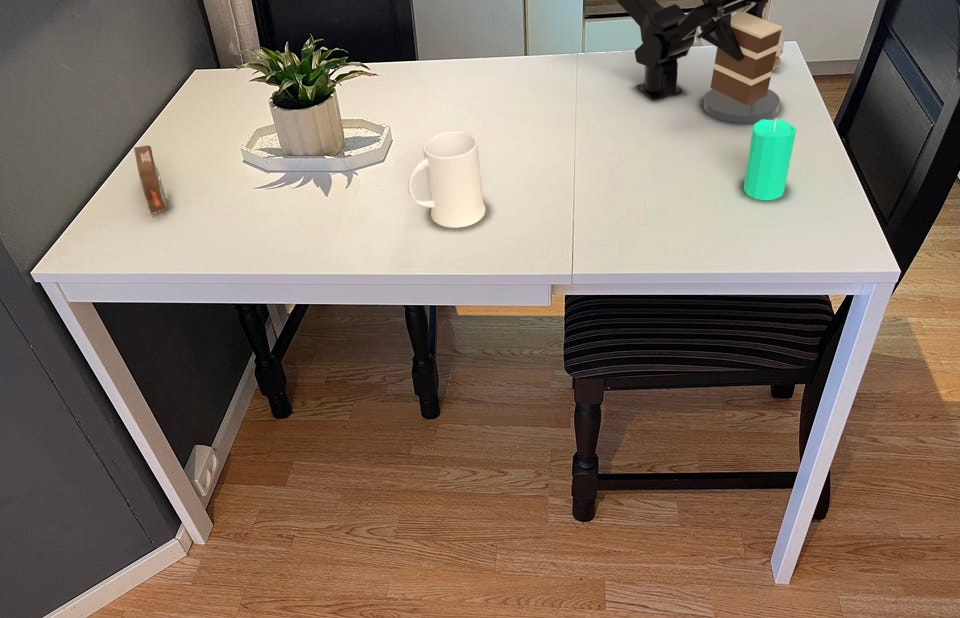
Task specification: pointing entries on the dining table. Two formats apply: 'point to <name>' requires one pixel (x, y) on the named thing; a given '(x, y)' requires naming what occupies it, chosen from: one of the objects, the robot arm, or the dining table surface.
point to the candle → (769, 159)
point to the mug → (452, 179)
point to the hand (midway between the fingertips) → (752, 55)
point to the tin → (150, 179)
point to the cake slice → (747, 60)
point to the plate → (740, 107)
